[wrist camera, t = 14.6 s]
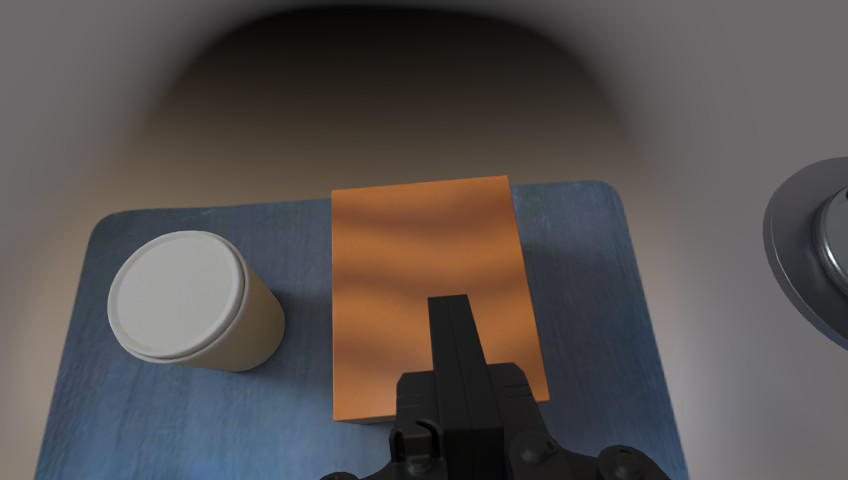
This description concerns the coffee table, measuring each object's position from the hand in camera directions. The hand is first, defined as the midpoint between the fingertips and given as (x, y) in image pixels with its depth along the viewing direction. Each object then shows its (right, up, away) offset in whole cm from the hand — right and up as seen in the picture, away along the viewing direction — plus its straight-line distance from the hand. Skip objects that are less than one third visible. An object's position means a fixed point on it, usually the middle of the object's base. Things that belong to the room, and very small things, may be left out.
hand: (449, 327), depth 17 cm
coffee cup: (-17, -5, +24) cm, 30 cm away
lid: (0, 0, +15) cm, 15 cm away
